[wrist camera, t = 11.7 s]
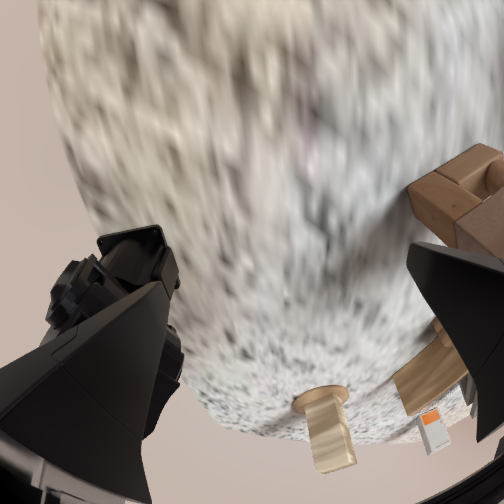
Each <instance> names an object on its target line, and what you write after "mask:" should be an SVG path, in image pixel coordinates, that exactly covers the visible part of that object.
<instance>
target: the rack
mask: <svg viewBox="0 0 504 504" xmlns="http://www.w3.org/2000/svg"><path fill="white" fill-rule="evenodd" d="M467 373H469V371H468V369H467V368H466V366H465V364H464V362H463V360H462V359H461V357H460V355H459V353H458V351H457V350H456V348H455V347H446V346H444V345H443V343H442V342H441V340H440V338H439V337H437V338H436V339H435V340H433V341H432V342H431V343H430V344H429V345H428V346H427V347H426V348H425V349H424V350H423V351H421V352H420V353H419V354H418V355H417V356H416V357H414V358H413V359H412V360H411V361H410V362H409V363H407V364H406V365H405V366H404V367H403V368H401V369H400V370H399V371H398V372H396V373H395V374H394V375H392V377H393V380H394V382H395V385H396V387H397V390H398V392H399V395H400V397H401V400H402V402H403V405H404V408H405V410H406V413H407V416H412V415H414V414H415V413H417V412H418V411H420V410H421V409H423V408H424V407H425V406H427V405H428V404H430V403H431V402H432V401H434V400H435V399H436V398H438V397H439V396H440V395H442V394H443V393H444V392H446V391H447V390H448V389H449V388H451V387H452V386H453V385H454V384H456V383H457V382H458V381H459V380H460V379H462V378H463V377H464V376H465V375H466V374H467Z"/></svg>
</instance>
